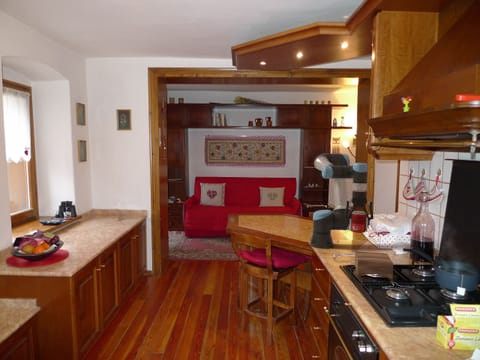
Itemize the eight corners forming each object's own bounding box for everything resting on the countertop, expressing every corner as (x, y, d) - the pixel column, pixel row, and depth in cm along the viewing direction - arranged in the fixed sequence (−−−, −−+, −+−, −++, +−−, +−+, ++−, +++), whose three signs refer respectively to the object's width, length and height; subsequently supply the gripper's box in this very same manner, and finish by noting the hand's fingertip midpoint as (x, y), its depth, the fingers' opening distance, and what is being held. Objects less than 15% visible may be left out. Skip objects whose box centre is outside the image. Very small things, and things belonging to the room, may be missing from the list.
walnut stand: (354, 265, 174) (355, 251, 173) (386, 268, 169) (387, 253, 169) (357, 276, 158) (358, 260, 158) (392, 279, 154) (393, 263, 153)
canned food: (367, 233, 175) (368, 213, 174) (353, 233, 175) (353, 213, 174) (362, 229, 182) (363, 210, 182) (348, 229, 183) (349, 210, 182)
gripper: (340, 190, 176) (339, 231, 178) (380, 192, 170) (379, 233, 172) (339, 189, 183) (338, 228, 185) (378, 190, 178) (377, 230, 180)
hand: (358, 230), depth 179 cm, fingers closed on canned food, 8 cm apart
